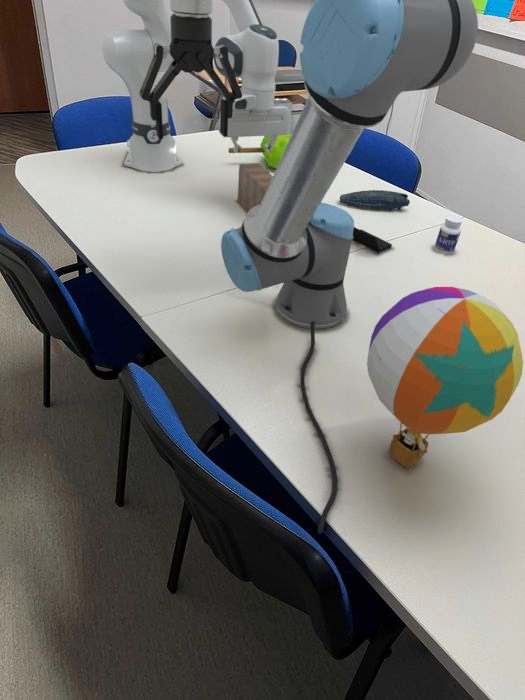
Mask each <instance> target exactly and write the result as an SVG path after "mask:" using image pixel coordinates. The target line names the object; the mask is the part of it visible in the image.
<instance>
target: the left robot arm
mask: <svg viewBox="0 0 525 700" xmlns="http://www.w3.org/2000/svg"><path fill="white" fill-rule="evenodd" d="M122 1H123V3H124V6H126V8H127V9H128V10H129V11H130V12H132V13H134V14H135V15H137V16H139V17H140V18H141V20H142V22H143V26H144V29H119V30H114V31H111V32H108V33H107V34H106V35H105V37H104V39H103V42H102V46H101V47H102V56H103V59H104V62H105V63H106V65H107V66H108V67H109V68H110V69H111V70H112V71H113V72H115V73H116V74H117V75H118V76H119V78H121V79H122V81H123V82H124V84H125V87H126V88H127V90H128V93H129V98H130V104H131V111H132V113H131V114H132V120H131V131H132V135H131V136H130V138H129V139H127V140H126V145H127V148H128V152H127V154H126V157H125V160H124V162H123V163H124V164H123V166H125V167H129V168H133V169H135V170H138V171H141V172H147V173H148V172H149V173H160V172H167V171H171V170H172V169H174V168H176V167H179V166H182V164H183V163H182V160H181V159H180V158H179V157H178V156H177V145H176V138H174V137H173V136H172V135H171V122H170V120H169V106H168V105H169V101H168V95H167V94H166V93H167V92H166V91H165V92H164V93H163V95H162V96H161V98H160V99H159V100H158V101H159V102H160V103H161V104H162V126H163V139H159V138H158V136H157V135H156V121H153V120H152V119H151V116H150V103H149V101H146V100H143V99H142V98H141V96H140V95H139V92H140V90H141V87H142V84H143V82H144V79H145V77H146V74H147V72H148V69H149V67H150V64H151V61H152V59H153V56H154V45H155V43H159V44H160V45H164V46H170V43H171V22H170V16H169V14H168V11H167V9H166V4H165V0H122ZM221 1H222V2H223V3H224V4H226V6H227V7H228V9H229V10H230V13H231V15H232V17H233V20H234V21H235V24H236V26H237V28H238V30H239V32H238V33H237V32H236V33H234V34H228V35H225V36H221V37H220V38H219V39H218V40H217V41H216V43H215V45H214V47H217V46H219V45H220V44H222V45H224V46H226V47H227V48H228V57H229V62H230V64H231V67H232V69H233V72H234V75H235V77H236V78H238V79H240V80H241V87H240V90H241V93H242V98H240V99H236V100H235V102H234V103H233V110H232V111H233V112H232V118H228V135H227V136H223V135H222V134H221V133H220V116H221V109H220V110H219V116H218V124H217V130H218V131H217V132H218V133H219V134H220V136H222V138H230V140H231V142H232V144H233V148H234V152H235V153H234V154H242V153H241V148H242V146H241V144H238V143H237V142H238V141H239V138H246V137H264V136H270V137H271V139H270V140H269V142H268V143H266V144H265V146H266V147H265V150H266V151H272V147H273V145H274V143H275V142H276V140H277V136H278V135H287V134H290V132H291V124H292V118H291V117H292V115H291V114H292V111H293V103H292V101H291V100H290V99H289V98H286V97H283V98H279V97H276V75H277V73H278V68H279V57H280V55H279V54H280V43H279V36H278V34H277V32H276V31H275V30H274V29H273V28H271V27H268V26H267V25H264V24H263V23H262V21H261V19H260V16H259V14H258V12H257V10H256V7H255V5H254V2H253V1H252V0H221ZM173 60H174V59H173V58H172V56H171V55H170V53H168V54H167V55H166V58H164V59H163V60H162V64H161V67H160V69H159V72H158V73H162V72H164V73H165V72H166V71H167V70H168V68H169V66H170V64H171V63H172V61H173ZM213 63H214V65H215V68H216V70H217V71H218V73H219V74H220V75H221V76H223V77H225V78H226V75H225V73H224V70H223V68H222V65H221V63H220V59H218V58H217V57H216V54H214V55H213ZM156 85H157V84H155V83H154V84H153V87H152V89H151V92H152V91H153V89H154V88H155V86H156ZM151 92H150V93H151ZM222 100H225V97H224V96H223V95H222Z"/></svg>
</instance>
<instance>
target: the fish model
mask: <svg viewBox="0 0 525 700" xmlns="http://www.w3.org/2000/svg"><path fill="white" fill-rule="evenodd" d="M410 202H411V201H410V200H409V195H408V194H406V193H403V192H402V193H401V192H399V191H392V190H382V189H380V190H379V189H377V190H376V189H368V190H360V191H352V192H348V193H344V194H341V195H340V196H339V203H343V204H346V205H349V206H351V207H357V208H362V209H371V210H372V209H374V210H384V211H385V210H386V211H391V210H394V209H397V210H402V208H404V207H408V206H409V205H410Z"/></svg>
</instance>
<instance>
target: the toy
mask: <svg viewBox="0 0 525 700" xmlns="http://www.w3.org/2000/svg"><path fill="white" fill-rule="evenodd" d="M514 325H515V324H514V323H513V322H512V321H511V319H510V318H509V317H508V316H507V314H506V313H504V311H503V310H502V309H501V308H500V307H499V305H498V304H496V303H495V302H493V301H492V300H490V299H489V298H487V297H486V296H483V295H481V294H479V293H477V292H474V291H472V290H469V289H465V288H461V287H460V288H459V287H455V286H433V287H429V288H425V289H421V290H418V291H414V292H412V293H409V294H407V295H406V296H404V297H401V299H400V300H398V301H397V302H396V303H395V304H394V305H393V306H392V307H391V308H389V309H388V310H387V311H386V312H385V313H384V314H382V316H381V317H380V318H379V320H378V321H377V323H376V324H375V326H374V329H373V331H372V334H371V335H370V343H369V346H368V353H367V361H366V367H367V373H368V377H369V379H370V381H371V384H372V386H373V389H374V391H375V393H376V396H377V398H378V401H380V403H381V404H382V405H383V406H384V407H385V408H386V410H388V412H389V413H391V415H392V416H393V417H394V418H395V419H397V421H398V422H399V423H400V427H399V431H398V434H397V433H396V434H395V433H394V434H393V435H392V439H391V441H390V444H389V450H388V454H389V456H390V457H391V458H393V459H394V460H395V461H396V462H398V464H400V465H401V466H403V467H404V468H406V469H410V468H411V467H412V466H413V465H415V464H416V463H417V462H419V461H420V460H421V459H422V458H423V456H425V454H427V453H428V448H429V442H428V441H427V438H428V437H429V435H444V434H445V435H447V434H457V433H459V434H460V433H465V432H467V431H468V432H469V431H470V430H472V429H475V428H477V427H479V426H480V425H483V424H485V423H488V422H489V421H492V420H493V419H495V418H496V417H497V416H498V415H499V414H501V413H502V412H503V410H504V409H505V407H506V406H507V405H508V403H509V402H510V401H511V398H512V397H513V395H514V393H515V391H516V390H517V388H518V386H519V383H520V382H521V378H522V375H523V367H524V360H523V354H522V348H521V344H520V343H521V342H520V339H519V333H518V331H517V329H516V328H515V326H514ZM402 425H403V426H404V427H405V429H403V430H402V427H403V426H402ZM422 434H423V435H426V436H425V438H423V436H422Z"/></svg>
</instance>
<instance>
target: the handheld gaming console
mask: <svg viewBox="0 0 525 700" xmlns="http://www.w3.org/2000/svg"><path fill="white" fill-rule="evenodd" d="M352 242H355V243H357V244H359V245H361V246H363V247H365V248H366V249H368V250H371V251H372V252H374V253H376V254H381V253H382V252H385V251H387V250H389V249H391V248H392V247H393V244H392V243H390V242H388V241H386V240H384V239H382V238H381V237H378V236H376V235H373V234H372V233H370V232H368V231H365V230H364V229H359V228H358V227H356V226H354V229H353V240H352Z"/></svg>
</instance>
